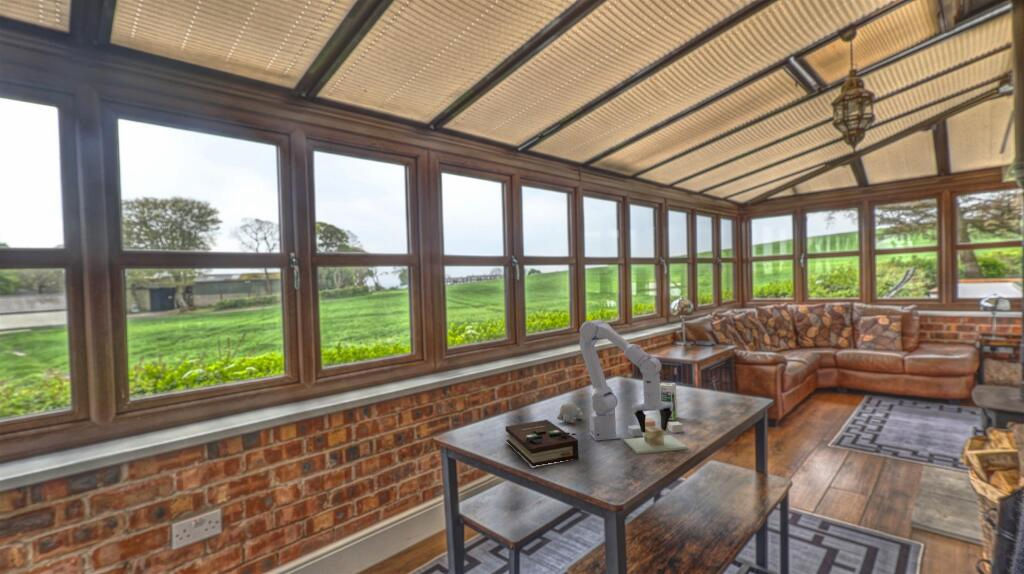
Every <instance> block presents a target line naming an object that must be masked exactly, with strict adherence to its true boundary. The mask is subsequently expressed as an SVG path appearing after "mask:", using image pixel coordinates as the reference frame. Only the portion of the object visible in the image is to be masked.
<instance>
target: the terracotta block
mask: <svg viewBox="0 0 1024 574" xmlns="http://www.w3.org/2000/svg"><path fill="white" fill-rule="evenodd" d="M651 426H656V420H654V419H653V418H650V417H649V418H645V427H651Z"/></svg>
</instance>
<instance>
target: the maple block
mask: <svg viewBox="0 0 1024 574" xmlns="http://www.w3.org/2000/svg"><path fill="white" fill-rule="evenodd" d="M664 432H665V431H664V430H662V428H661V427H659V426H658V425H655V426H651V427H645V433H643V438H644V441H645V442H646V443H647V444H649V445H650V446H656V445H664V436H665V435H664Z"/></svg>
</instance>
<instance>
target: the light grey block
mask: <svg viewBox="0 0 1024 574" xmlns="http://www.w3.org/2000/svg"><path fill="white" fill-rule="evenodd" d="M667 430H668V431H669V432H671V433H672V434H674V433H675V434H676V433H677V432H678V433H683V432H684V429H683V423H681V422H679V421H678V420H677V421H668V423H667Z"/></svg>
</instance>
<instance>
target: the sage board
mask: <svg viewBox="0 0 1024 574" xmlns="http://www.w3.org/2000/svg"><path fill="white" fill-rule="evenodd" d="M622 441H623V443H624V444H625V445H626V446H628V447H629V448H630V449H631V450H632V451H633V452H634V453H635V454H637V455H638V454H649V453H650V454H651V453H658V452H659V453H660V452H668V451H670V452H671V451H678V450H679V451H680V450H687V449H688V446H687V445H685V444H684V443H683V442H681V441H680V440H678V439H677V438H676V437H674V436H672V434H668V435H667V434H665V435H664V445H656V446H650V445H649V444H647V443H646V442H645V441H644V437H637V438H636V437H633V438H627V439H626V438H624V439H623V440H622Z"/></svg>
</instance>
